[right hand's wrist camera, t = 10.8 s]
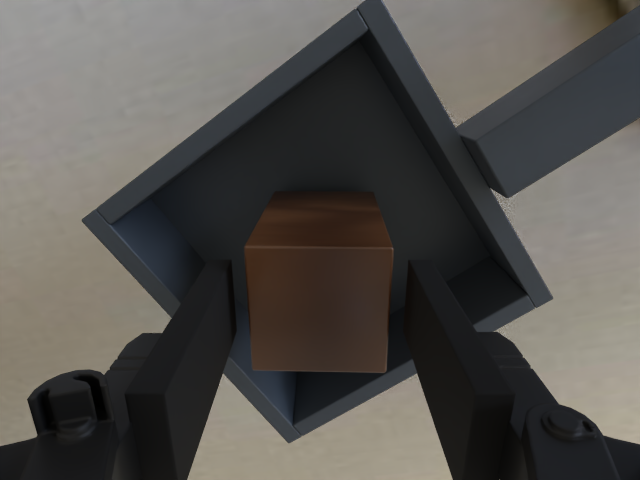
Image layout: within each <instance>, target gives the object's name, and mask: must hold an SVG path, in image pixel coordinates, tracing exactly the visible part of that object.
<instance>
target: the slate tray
mask: <svg viewBox="0 0 640 480" xmlns="http://www.w3.org/2000/svg"><path fill="white" fill-rule="evenodd" d="M638 118H640V5H639V6H638V7H636V8H635V9H633V10H632V11H630V12H629V13H627V14H626V15H624V16H623V17H621V18H620V19H618V20H617V21H615V22H614V23H612V24H611V25H609V26H608V27H606V28H605V29H603V30H602V31H600V32H599V33H597V34H596V35H594V36H593V37H591V38H590V39H588V40H587V41H585V42H584V43H582V44H581V45H579V46H578V47H576V48H575V49H573V50H572V51H570V52H569V53H567V54H566V55H564V56H563V57H561V58H560V59H558V60H557V61H555V62H554V63H552V64H551V65H549V66H548V67H546V68H545V69H543V70H542V71H540V72H539V73H537V74H536V75H534V76H533V77H531V78H530V79H528V80H527V81H525V82H524V83H522V84H521V85H519V86H518V87H516V88H515V89H513V90H512V91H510V92H509V93H507V94H506V95H504V96H503V97H501V98H500V99H498V100H497V101H495V102H494V103H492V104H491V105H489V106H488V107H486V108H485V109H483V110H482V111H480V112H479V113H477V114H476V115H474V116H473V117H471V118H470V119H468V120H467V121H465V122H464V123H462V124H461V125H459V126H458V127H456V128H455V126H454V124H453V123H452V121H451V119H450V118H449V116H448V114H447V112H446V111H445V109H444V107H443V105H442V104H441V102H440V100H439V98H438V97H437V95H436V93H435V91H434V90H433V88H432V86H431V85H430V83H429V81H428V79H427V78H426V76H425V74H424V72H423V71H422V69H421V67H420V65H419V64H418V62H417V60H416V58H415V57H414V55H413V53H412V52H411V50H410V48H409V46H408V45H407V43H406V41H405V39H404V38H403V36H402V34H401V32H400V31H399V29H398V27H397V25H396V24H395V22H394V20H393V19H392V17H391V15H390V13H389V12H388V10H387V8H386V6H385V5H384V3H383V1H382V0H365V1H364V2H363V3H362V4H360V5H359V6H358V7H357V9H354V10H353V11H351V12H350V13H349V14H347V15H346V16H345V17H344V18H342V19H341V20H340V21H338V22H337V23H336V24H334V25H333V26H332V27H331V28H329V29H328V30H327V31H325V32H324V33H323V34H322V35H320V36H319V37H318V38H316V39H315V40H314V41H312V42H311V43H310V44H309V45H307V46H306V47H305V48H303V49H302V50H301V51H300V52H298V53H297V54H296V55H294V56H293V57H292V58H290V59H289V60H288V61H287V62H285V63H284V64H283V65H281V66H280V67H279V68H278V69H276V70H275V71H274V72H272V73H271V74H270V75H268V76H267V77H266V78H265V79H263V80H262V81H261V82H259V83H258V84H257V85H255V86H254V87H253V88H252V89H250V90H249V91H248V92H246V93H245V94H244V95H243V96H241V97H240V98H239V99H237V100H236V101H235V102H233V103H232V104H231V105H230V106H228V107H227V108H226V109H224V110H223V111H222V112H221V113H219V114H218V115H217V116H215V117H214V118H213V119H211V120H210V121H209V122H208V123H206V124H205V125H204V126H202V127H201V128H200V129H199V130H197V131H196V132H195V133H193V134H192V135H191V136H189V137H188V138H187V139H186V140H184V141H183V142H182V143H180V144H179V145H178V146H177V147H175V148H174V149H173V150H171V151H170V152H169V153H167V154H166V155H165V156H164V157H162V158H161V159H160V160H158V161H157V162H156V163H155V164H153V165H152V166H151V167H149V168H148V169H147V170H145V171H144V172H143V173H142V174H140V175H139V176H138V177H136V178H135V179H134V180H133V181H131V182H130V183H129V184H127V185H126V186H125V187H123V188H122V189H121V190H120V191H118V192H117V193H116V194H114V195H113V196H112V197H110V198H109V199H108V200H107V201H105V202H104V203H103V204H101V205H100V206H99V207H98V208H97V209H95V210H94V211H92V212H91V213H90V214H88V215H87V216H86V217H85V218H83V219H82V222H83V223H84V224H85V225H86V226H87V227H88V228H89V229H90V231H91V232H92V233H93V234H94V235H95V236H96V237H97V238H98V239H99V240H100V241H101V242H102V243H103V245H104V246H105V247H106V248H107V249H108V250H109V251H110V252H111V253H112V254H113V255H114V256H115V257H116V259H117V260H118V261H119V262H120V263H121V264H122V265H123V266H124V267H125V268H126V269H127V270H128V271H129V272H130V274H131V275H132V276H133V277H134V278H135V279H136V280H137V281H138V282H139V283H140V284H141V285H142V286H143V288H144V289H145V290H146V291H147V292H148V293H149V294H150V295H151V296H152V297H153V298H154V299H155V300H156V301H157V303H158V304H159V305H160V306H161V307H162V308H163V309H164V310H165V311H166V312H167V313H168V314H169V315H170V317H171V318H172V317H173V316H174V314H175V312H176V311H177V309H178V308H179V306H180V304H181V303H182V301H183V300H184V298H185V296H186V295H187V293H188V292H189V290H190V289H191V287H192V285H193V284H194V282H195V281H196V279H197V277H198V276H199V274H200V273H201V271H202V270H203V268H204V266H205V265H206V263H207V262H208V260H232V272H233V285H234V298H235V311H236V324H237V332H236V335H235V338H234V341H233V344H232V347H231V350H230V353H229V356H228V359H227V362H226V365H225V368H224V371H223V373H224V375H225V376H226V377H227V378H228V379H229V380H230V381H231V382H232V383H233V384H234V385H235V386H236V387H237V389H238V390H239V391H240V392H241V393H242V394H243V395H244V396H245V397H246V398H247V399H248V400H249V401H250V402H251V404H252V405H253V406H254V407H255V408H256V409H257V410H258V411H259V412H260V413H261V414H262V415H263V416H264V418H265V419H266V420H267V421H268V422H269V423H270V424H271V425H272V426H273V427H274V428H275V429H276V430H277V431H278V433H279V434H280V435H281V436H282V437H283V438H284V439H285V440H286V441H287V442H288V443H291V442H292V441H294V440H296V439H298V438H300V437H301V436H303V435H305V434H307V433H309V432H311V431H313V430H314V429H316V428H318V427H320V426H322V425H323V424H325V423H327V422H329V421H331V420H333V419H334V418H336V417H338V416H340V415H342V414H344V413H345V412H347V411H349V410H351V409H353V408H354V407H356V406H358V405H360V404H362V403H364V402H365V401H367V400H369V399H371V398H373V397H375V396H376V395H378V394H380V393H382V392H384V391H385V390H387V389H389V388H391V387H393V386H395V385H396V384H398V383H400V382H402V381H404V380H406V379H407V378H409V377H411V376H413V375H415V374H416V373H417V371H416V368H415V365H414V362H413V359H412V356H411V353H410V350H409V347H408V344H407V341H406V338H405V335H404V332H403V324H404V311H405V298H406V285H407V272H408V260H432V262H433V263H434V265H435V266H436V268H437V270H438V271H439V273H440V274H441V276H442V278H443V279H444V281H445V282H446V284H447V285H448V287H449V289H450V290H451V292H452V293H453V295H454V297H455V298H456V300H457V301H458V303H459V304H460V306H461V308H462V309H463V311H464V312H465V314H466V316H467V317H468V319H469V320H470V322H471V323H472V325H473V327H474V328H475V330H476V331H477V332H493V331H495V330H497V329H499V328H500V327H502V326H504V325H506V324H508V323H509V322H511V321H513V320H515V319H517V318H519V317H520V316H522V315H524V314H526V313H528V312H530V311H531V310H533V309H535V307H536V308H537V307H539V306H541V305H543V304H545V303H546V302H548V301H550V300H552V299H553V296H552V295H551V293H550V291H549V290H548V288H547V286H546V284H545V283H544V281H543V279H542V277H541V276H540V274H539V272H538V270H537V269H536V267H535V265H534V263H533V262H532V260H531V258H530V257H529V255H528V253H527V251H526V250H525V248H524V246H523V244H522V243H521V241H520V239H519V237H518V236H517V234H516V232H515V230H514V229H513V227H512V225H511V223H510V222H509V220H508V218H507V217H506V215H505V213H504V211H503V210H502V208H501V206H500V204H499V203H498V201H497V199H496V197H495V196H494V194H493V192H492V190H491V189H493V190H495V191H496V192H498V193H499V194H501V195H502V196H504V197H506V198H510V197H511V196H513V195H514V194H516V193H518V192H519V191H521V190H523V189H524V188H526V187H527V186H529V185H531V184H532V183H534V182H536V181H537V180H539V179H541V178H542V177H544V176H545V175H547V174H549V173H550V172H552V171H554V170H555V169H557V168H558V167H560V166H562V165H563V164H565V163H567V162H568V161H570V160H572V159H573V158H575V157H576V156H578V155H580V154H581V153H583V152H585V151H586V150H588V149H589V148H591V147H593V146H594V145H596V144H598V143H599V142H601V141H603V140H604V139H606V138H607V137H609V136H611V135H612V134H614V133H616V132H617V131H619V130H620V129H622V128H624V127H625V126H627V125H629V124H630V123H632V122H634V121H635V120H637V119H638ZM490 188H491V189H490ZM275 191H340V192H374V195H375V198H376V200H377V203H378V206H379V209H380V212H381V215H382V217H383V220H384V223H385V226H386V229H387V232H388V234H389V237H390V240H391V243H392V246H393V248H394V254H393V270H392V286H391V302H390V318H389V335H388V351H387V367H386V372H385V373H367V372H314V371H261V370H253V369H252V361H251V346H250V331H249V316H248V302H247V287H246V272H245V257H244V246H245V244H246V242H247V241H248V239H249V237H250V235H251V233H252V231H253V230H254V228H255V226H256V224H257V222H258V221H259V219H260V217H261V215H262V213H263V211H264V210H265V208H266V206H267V204H268V202H269V201H270V199H271V197H272V195H273V193H274V192H275Z"/></svg>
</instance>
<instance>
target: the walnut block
mask: <svg viewBox="0 0 640 480" xmlns="http://www.w3.org/2000/svg"><path fill="white" fill-rule="evenodd" d="M393 254H394V248H393V246H392V243H391V240H390V237H389V234H388V232H387V229H386V226H385V223H384V220H383V217H382V215H381V212H380V209H379V206H378V203H377V200H376V198H375V195H374V192H340V191H275V192H274V193H273V195H272V197H271V199H270V201H269V202H268V204H267V206H266V208H265V210H264V211H263V213H262V215H261V217H260V219H259V221H258V222H257V224H256V226H255V228H254V230H253V231H252V233H251V235H250V237H249V239H248V241H247V242H246V244H245V246H244V257H245V272H246V287H247V302H248V316H249V331H250V346H251V361H252V369H253V370H261V371H314V372H367V373H385V372H386V367H387V351H388V335H389V318H390V302H391V286H392V270H393Z"/></svg>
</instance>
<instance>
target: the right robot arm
mask: <svg viewBox="0 0 640 480" xmlns="http://www.w3.org/2000/svg"><path fill="white" fill-rule="evenodd" d="M236 332H237V324H236V311H235V298H234V285H233V272H232V260H208V262H207V263H206V265H205V266H204V268H203V270H202V271H201V273H200V274H199V276H198V277H197V279H196V281H195V282H194V284H193V285H192V287H191V289H190V290H189V292H188V293H187V295H186V296H185V298H184V300H183V301H182V303H181V304H180V306H179V308H178V309H177V311H176V312H175V314H174V316H173V317H172V319H171V320H170V322H169V323H168V325H167V327H166V328H165V330H164V331H163V333H142V334H141V335H140V336H138V337H137V338H135V339H134V340H132V341H131V342H130V343H128V344H127V345H126V346H125V348H124V349H123V350H122V352H121V353H120V354H119V356H118V359H116V360H115V361H114V363H113V364H112V365H111V367H110V370H108V371H107V372H106V373H105V375H103V374H102V373H101V372H98V371H94V370H75V371H72V372H68V373H64V374H61V375H58V376H56V377H54V378H52V379H50V380H48V381H46V382H44V383H43V384H42V385H40V386H39V387H38V388H36V389H35V390H34V391H33V392H32V394H31V395H30V396H29V398H28V399H27V400H28V404H29V407H30V411H31V414H32V418H33V421H34V424H35V428H36V431H37V437H36V438H33V439H29V440H26V441H21V442H17V443H13V444H8V445H4V446H0V480H187V478H188V475H189V472H190V469H191V466H192V463H193V460H194V457H195V454H196V451H197V448H198V445H199V442H200V439H201V436H202V433H203V430H204V428H205V425H206V422H207V419H208V416H209V413H210V410H211V407H212V404H213V401H214V398H215V395H216V392H217V389H218V386H219V383H220V380H221V377H222V374H223V371H224V368H225V365H226V362H227V359H228V356H229V353H230V350H231V347H232V344H233V341H234V338H235V335H236ZM403 332H404V335H405V338H406V341H407V344H408V347H409V350H410V353H411V356H412V359H413V362H414V365H415V368H416V371H417V374H418V377H419V380H420V383H421V386H422V389H423V392H424V395H425V398H426V401H427V404H428V407H429V410H430V413H431V416H432V419H433V422H434V425H435V428H436V431H437V434H438V436H439V439H440V442H441V445H442V448H443V451H444V454H445V457H446V460H447V463H448V466H449V469H450V472H451V475H452V478H453V480H499V479H500V480H640V444H635V443H631V442H627V441H622V440H618V439H614V438H610V437H607V436H603V435H602V433H601V432H600V430H599V429H598V427H597V426H596V424H595V423H593V422H592V421H591V420H590V419H589V418H587V417H586V416H585V415H583V414H581V413H580V412H578V411H576V410H574V409H572V408H569V407H566V406H563V405H559V404H558V402H557V401H556V400H555V398H554V397H553V396H552V394H551V393H550V392H549V390H548V389H547V388H546V386H545V385H544V384H543V382H542V381H541V380H540V378H539V377H538V376H537V374H536V373H535V372H534V370H533V369H531V368H530V365H529V363H528V362H527V361H526V359H525V358H523V355H522V354H521V353H520V351H519V350H518V349H517V347H516V346H515V345H514V343H513V342H511V341H510V340H508V339H507V338H505V337H504V336H503V335H501V334H500V333H498V332H477V331H476V330H475V328H474V327H473V325H472V323H471V322H470V320H469V319H468V317H467V316H466V314H465V312H464V311H463V309H462V308H461V306H460V304H459V303H458V301H457V300H456V298H455V297H454V295H453V293H452V292H451V290H450V289H449V287H448V285H447V284H446V282H445V281H444V279H443V278H442V276H441V274H440V273H439V271H438V270H437V268H436V266H435V265H434V263H433V262H432V260H408V272H407V285H406V298H405V311H404V324H403Z"/></svg>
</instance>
